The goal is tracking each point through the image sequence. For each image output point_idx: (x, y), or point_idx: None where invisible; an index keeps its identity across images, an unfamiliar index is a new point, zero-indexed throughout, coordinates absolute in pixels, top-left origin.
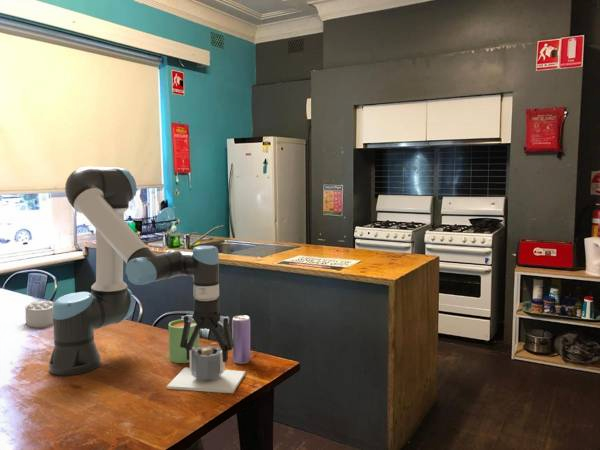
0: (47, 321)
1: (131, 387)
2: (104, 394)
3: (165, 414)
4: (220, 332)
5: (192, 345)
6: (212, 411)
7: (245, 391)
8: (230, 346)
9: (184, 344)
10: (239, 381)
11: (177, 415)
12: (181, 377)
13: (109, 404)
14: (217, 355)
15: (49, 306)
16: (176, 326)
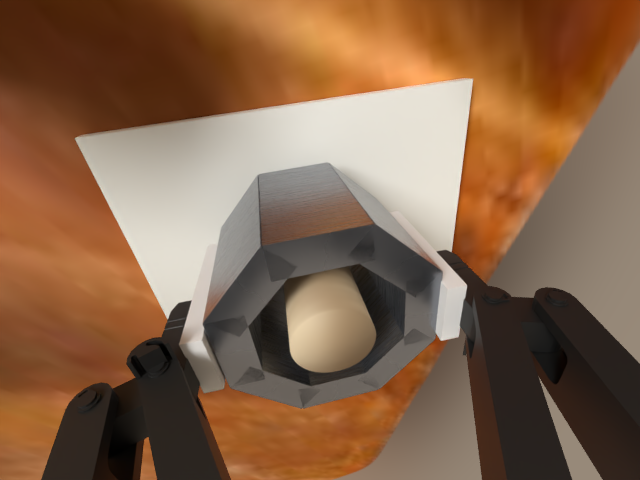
0: None
1: (34, 370)
2: (3, 428)
3: (293, 422)
4: (559, 473)
5: (185, 377)
6: (407, 375)
7: (483, 252)
8: (557, 360)
9: (139, 446)
10: (455, 200)
11: (326, 414)
12: (175, 262)
13: None
14: (423, 345)
15: None
16: None
